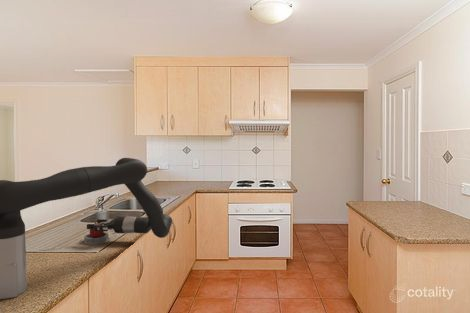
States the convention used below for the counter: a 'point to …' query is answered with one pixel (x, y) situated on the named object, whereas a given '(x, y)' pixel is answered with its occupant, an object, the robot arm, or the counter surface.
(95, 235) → the onion
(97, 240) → the grey round tray
